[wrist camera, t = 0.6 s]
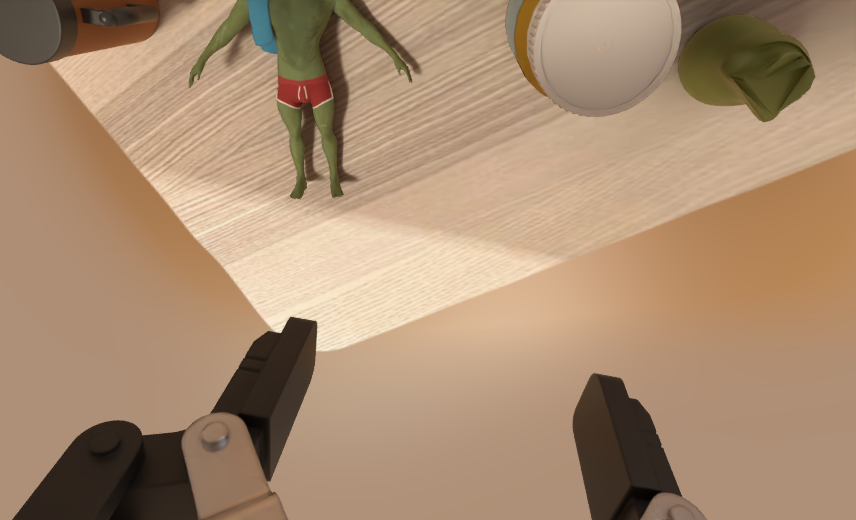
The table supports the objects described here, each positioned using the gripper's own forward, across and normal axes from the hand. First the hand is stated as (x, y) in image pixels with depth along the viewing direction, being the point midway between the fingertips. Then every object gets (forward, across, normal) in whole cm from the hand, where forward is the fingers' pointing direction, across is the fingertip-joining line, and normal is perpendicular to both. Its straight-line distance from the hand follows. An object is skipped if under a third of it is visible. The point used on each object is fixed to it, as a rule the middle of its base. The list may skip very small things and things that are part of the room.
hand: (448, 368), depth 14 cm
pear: (+28, -16, -8) cm, 33 cm away
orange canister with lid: (+28, +26, -4) cm, 38 cm away
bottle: (+28, -5, -8) cm, 29 cm away
